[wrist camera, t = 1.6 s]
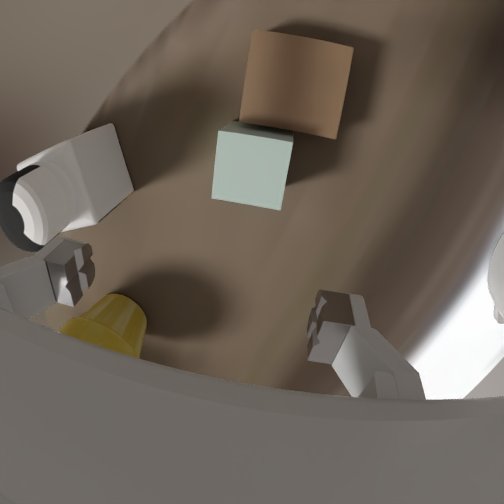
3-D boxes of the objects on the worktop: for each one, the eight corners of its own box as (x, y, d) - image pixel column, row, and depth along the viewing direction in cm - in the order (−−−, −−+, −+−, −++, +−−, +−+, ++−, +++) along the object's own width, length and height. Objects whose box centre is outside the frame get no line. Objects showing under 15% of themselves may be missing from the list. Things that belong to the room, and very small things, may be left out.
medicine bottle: (82, 205, 30) (9, 267, 20) (61, 143, 27) (-25, 187, 17) (136, 191, 29) (62, 258, 19) (114, 121, 25) (23, 159, 15)
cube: (293, 130, 24) (293, 142, 20) (283, 186, 27) (280, 210, 23) (232, 120, 24) (218, 130, 20) (225, 177, 27) (211, 198, 23)
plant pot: (106, 338, 41) (76, 390, 33) (78, 279, 36) (36, 331, 28) (170, 345, 39) (145, 406, 31) (147, 281, 34) (109, 344, 26)
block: (347, 51, 20) (353, 47, 17) (331, 132, 24) (335, 139, 21) (257, 34, 20) (252, 29, 18) (245, 116, 24) (238, 121, 21)
